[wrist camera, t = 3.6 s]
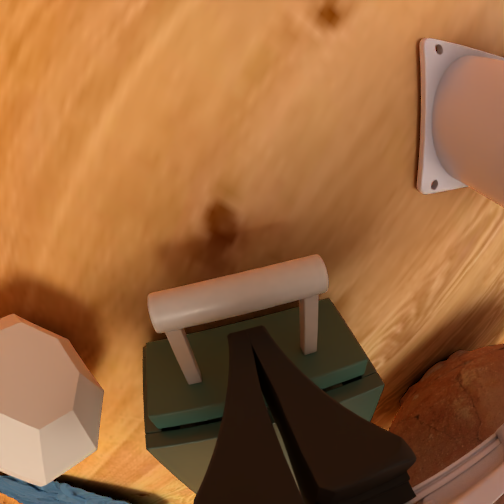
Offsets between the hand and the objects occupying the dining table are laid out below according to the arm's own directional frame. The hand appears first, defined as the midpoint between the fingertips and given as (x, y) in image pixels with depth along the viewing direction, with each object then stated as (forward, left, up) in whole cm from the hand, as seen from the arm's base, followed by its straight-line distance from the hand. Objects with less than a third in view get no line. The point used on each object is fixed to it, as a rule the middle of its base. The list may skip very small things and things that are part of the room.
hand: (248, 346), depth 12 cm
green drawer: (0, +6, -3) cm, 7 cm away
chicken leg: (+14, +4, -4) cm, 16 cm away
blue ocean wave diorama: (+28, +35, -4) cm, 45 cm away
